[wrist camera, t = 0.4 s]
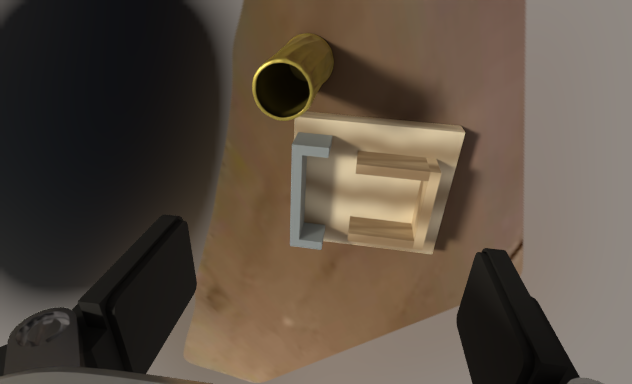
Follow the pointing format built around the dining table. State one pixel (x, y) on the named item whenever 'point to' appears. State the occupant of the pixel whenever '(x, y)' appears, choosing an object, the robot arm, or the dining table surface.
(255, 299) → the dining table surface
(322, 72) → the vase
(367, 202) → the board
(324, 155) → the grey bracket
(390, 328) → the dining table surface
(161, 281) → the robot arm
